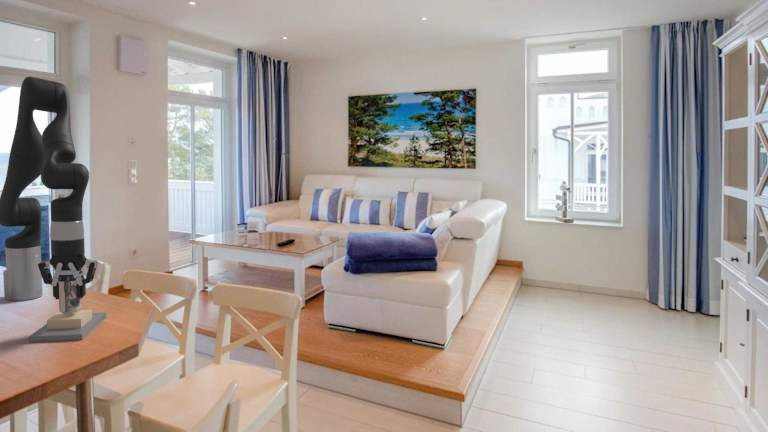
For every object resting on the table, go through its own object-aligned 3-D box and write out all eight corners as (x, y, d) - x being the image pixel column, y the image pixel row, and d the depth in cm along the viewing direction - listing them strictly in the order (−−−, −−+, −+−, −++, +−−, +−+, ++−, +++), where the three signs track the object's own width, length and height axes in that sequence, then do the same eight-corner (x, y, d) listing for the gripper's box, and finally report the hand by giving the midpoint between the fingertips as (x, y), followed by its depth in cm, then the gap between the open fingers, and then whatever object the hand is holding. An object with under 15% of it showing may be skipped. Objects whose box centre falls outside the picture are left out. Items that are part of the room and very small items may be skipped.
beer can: (69, 315, 124) (68, 271, 122) (55, 313, 125) (53, 270, 123) (84, 310, 128) (83, 268, 127) (70, 308, 129) (69, 266, 128)
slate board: (29, 342, 117) (28, 327, 116) (60, 319, 134) (60, 305, 134) (82, 339, 120) (81, 324, 119) (106, 317, 137) (105, 304, 137)
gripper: (102, 235, 130) (103, 293, 131) (43, 234, 126) (46, 295, 128) (92, 239, 122) (93, 301, 124) (30, 239, 119) (32, 303, 121)
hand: (69, 298), depth 126 cm, fingers closed on beer can, 4 cm apart
